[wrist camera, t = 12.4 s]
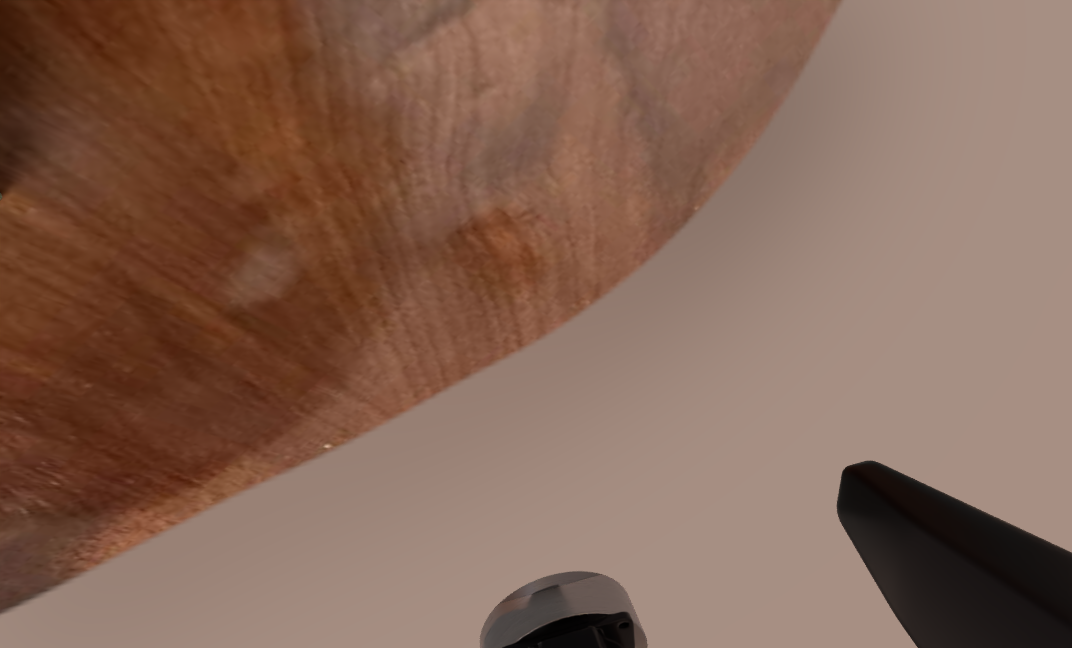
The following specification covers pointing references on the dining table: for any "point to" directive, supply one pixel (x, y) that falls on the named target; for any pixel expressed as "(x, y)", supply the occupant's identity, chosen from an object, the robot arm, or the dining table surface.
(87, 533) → the dining table surface
